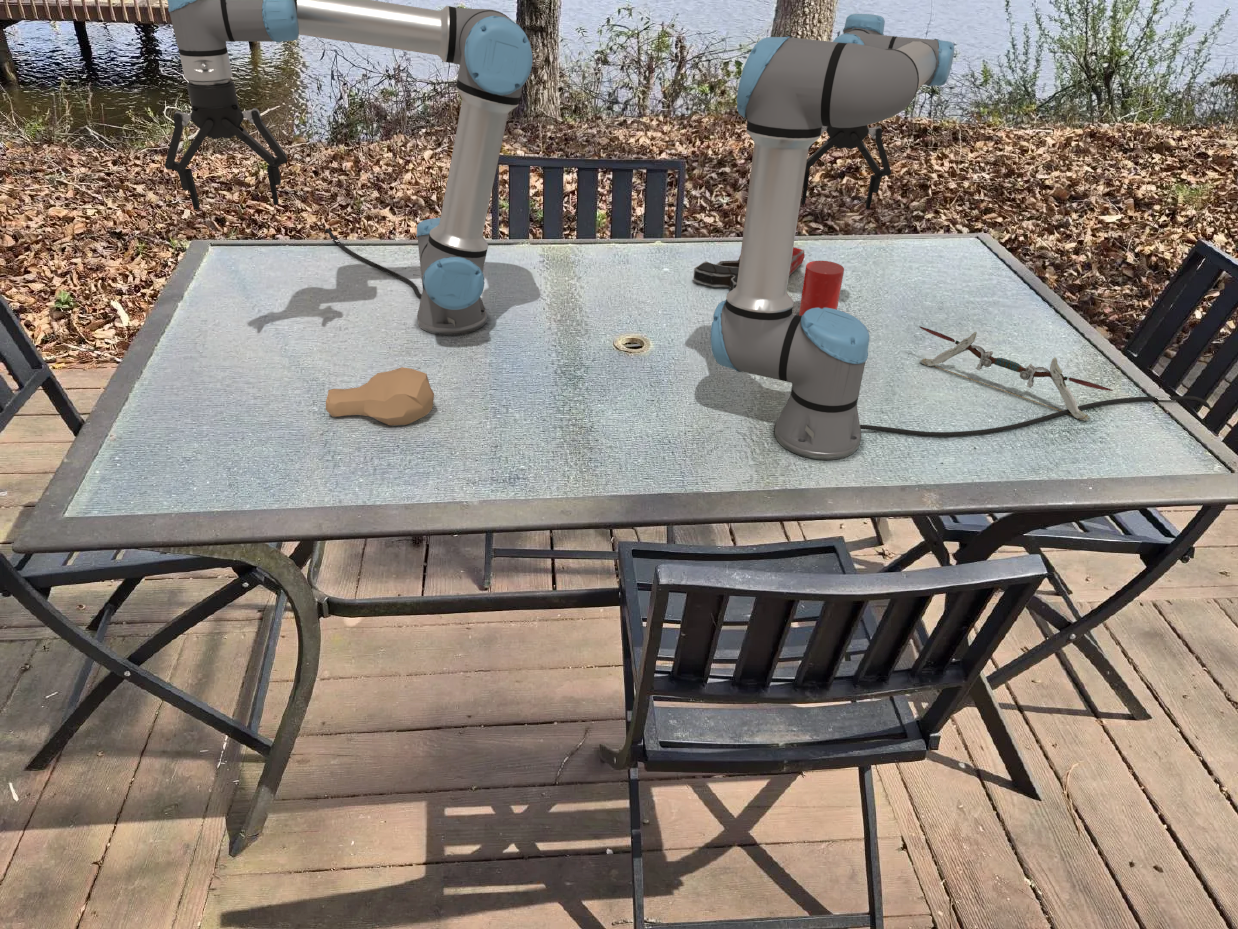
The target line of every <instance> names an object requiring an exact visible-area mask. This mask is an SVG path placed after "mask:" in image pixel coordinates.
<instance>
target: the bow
mask: <svg viewBox="0 0 1238 929" xmlns="http://www.w3.org/2000/svg"><path fill="white" fill-rule="evenodd" d="M918 328H920V329H922V330H923V331H925V332H927V333H929V334H931V335H933V336H935V337H937V338H940V339H943V340H945V341H948V342H952V343H954V344H955V345H956V346H954V347H952V348H948V349H946V350H944V351H943V352H941V353H939V354H938V355H936V356H935V357H934V358H922V359H920V363H921V364H923V365H925V366H927V367H934V368H937V369H940V370H942V371H945V372H948V373H951V374H953V375H957V376H958V377H959V376H960V377H963V378H965V379H968V380H971V381H973V382H976V383H979V384H982V385H985V386H988V387H991V388H993V389H996V390H999V391H1003V392H1005V393H1008V394H1010V395H1014V396H1016V397H1019V398H1022V399H1024V400H1027V401H1030V402H1032V403H1036V404H1039V405H1042V406H1045V407H1047V408H1050V409H1052V410H1056V411H1057V412H1060V411H1062V410H1061V409H1059V408H1056V407H1052V406H1050V405H1047V404H1044V403H1042V402H1038V401H1036V400H1033V399H1030V398H1027V397H1025V396H1021V395H1019V394H1016V393H1013V392H1010V391H1007V390H1004V389H1001V388H999V387H996V386H993V385H990V384H987V383H985V382H981V381H979V380H976V379H973V378H970V377H967V376H965V375H962V374H959V373H957V372H953V371H951V370H948V369H945V368H942V367H940V366H937V365H939V364H943V363H945V362H947V361H948V360H949V359H951V358H953V357H955V356H957V355H959V354H961V353H965V352H967V351H969V352H970V353H972V354H973V355H974V356H975V357H976V358H978V359H979V362H978V363H977V364H976V367H975V370H977V371H981V370H982V369H983V367H985V368H990V367H991V366H992V365H995V366H998V367H1000V368H1004V369H1007V370H1009V371H1012V372H1016V373H1019V378H1020V379H1021V380H1023V381H1027V382H1026V384H1027V385H1026V387H1027V388H1029V389H1032V387H1034V383H1035V380H1034V379H1035V378H1050V379H1051V381H1052V382H1053V383H1054V386H1055V387H1056V389H1057V390H1058V392H1059V394H1060V396H1061V399H1062V400H1063V403H1064V405H1065V407H1066V409H1068V410H1069V411H1070V412H1071V413H1068V414H1067V415H1069V416H1072V417H1073V418H1076V419H1077V420H1080V421H1084V422H1086V421H1089V419H1090V418H1091V417H1090V416H1088V414H1086V413H1085V412H1083V411H1082V410H1079V409H1078V406H1079V405H1078V403H1077V400H1076V398H1075V396H1074V395H1073V393H1072V391H1071V389H1070V388H1069V387H1068V386H1067V384H1066V381H1067V380H1068V381H1069V382H1072V383H1075V384H1078V385H1081V386H1084V387H1087V388H1092V389H1095V390H1101V391H1102V390H1103V391H1109V392H1113V391H1114V390H1113V389H1111V388H1110V387H1106V386H1103V385H1101V384H1100V385H1099V384H1097V383H1093V382H1091V381H1088V380H1084V379H1080V378H1075V377H1068V376H1066V375H1065V376H1064V374H1063V371H1062V368H1061V367H1060V366H1059V363H1058V358H1057V357H1053V358H1052V359H1051V362H1050V366H1049V369H1048V368H1047V367H1044V366H1036V367H1035V365H1033V364H1032V363H1030V364H1028V365H1027V366H1025V367H1023V366H1022V365H1021V364H1020V363H1019V362H1016V361H1014V360H1010V359H1007V358H1004V357H994V356H993V355H994V352H993V350H990V351H989V350H987V351H986V350H985V349H984V348H983V347H982V346H980V345H978V344H977V345H976V344H973V343H974V342H975V340H976V339H977V338H976V337H977V334H978V333H977V331H974V332H973V333H972V334H971V335H969V336H968V337H966V338H963V339H962V340H961V341H959V340H958V339H957V340H956V339H955V338H952V337H950V336H949V335H945V334H943V333H941V332H938V331H935V330H933V329H929V328H927V327H923V326H920V325H919V326H918ZM972 344H973V345H972Z"/></svg>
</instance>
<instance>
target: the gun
mask: <svg viewBox="0 0 1238 929" xmlns="http://www.w3.org/2000/svg"><path fill="white" fill-rule="evenodd" d="M740 255H741V253H740ZM740 255H739V256H738V260H736V259H735V260H720V261H719V262H717V263H712V262H709V261H706V260H705V261H704V262H702V263H701V264H699V265H697V266H696V267H693V279H692V281H694V282H696V283H697V284H702V285H703V286H708V287H713V288H714V287H715V288H729V292H730V291H731V290H733V289H734V288H735V287H736V286H737V279H738V271H739V263H740ZM805 256H806V255H805V249H801V248H798V247H795V246H794V247H793V253H792V259H791V266H790V272H789V276H790V275H792V274H793V273H794V272H795V271H796V270H797V269H798V268H799V267H800V266H802V265H803V262H804V259H805Z"/></svg>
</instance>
